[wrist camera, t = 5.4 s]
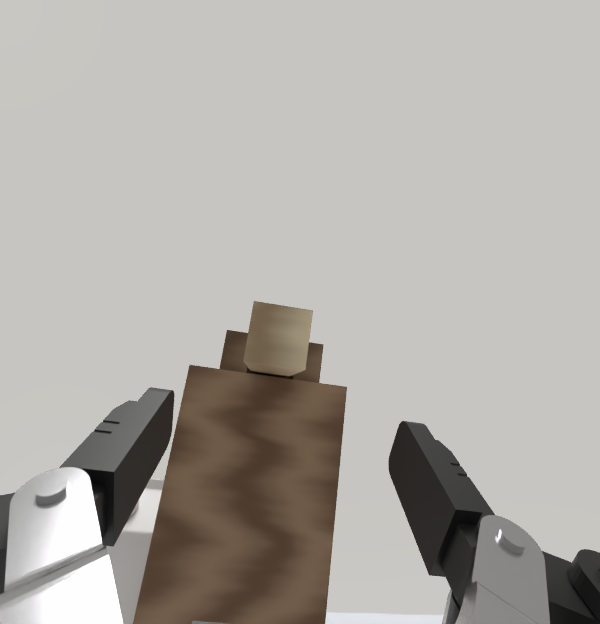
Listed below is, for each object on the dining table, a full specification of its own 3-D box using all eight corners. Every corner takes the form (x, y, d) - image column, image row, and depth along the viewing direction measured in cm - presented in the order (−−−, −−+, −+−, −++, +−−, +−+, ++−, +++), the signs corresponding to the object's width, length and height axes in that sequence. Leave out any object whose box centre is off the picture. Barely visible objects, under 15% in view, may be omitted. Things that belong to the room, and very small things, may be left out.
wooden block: (243, 361, 15) (253, 301, 15) (255, 377, 38) (259, 352, 39) (305, 369, 15) (313, 310, 16) (279, 380, 38) (283, 356, 39)
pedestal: (44, 1024, 15) (198, 325, 24) (155, 701, 31) (223, 349, 39) (288, 1018, 16) (350, 348, 25) (275, 708, 31) (316, 363, 40)
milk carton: (74, 649, 35) (120, 466, 40) (140, 652, 36) (177, 472, 40) (31, 714, 28) (93, 483, 33) (113, 715, 29) (162, 490, 34)
